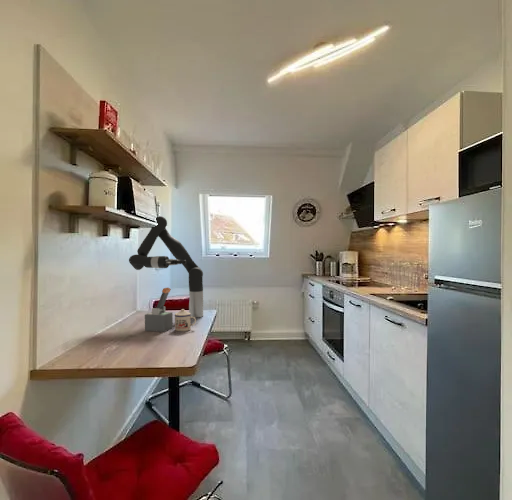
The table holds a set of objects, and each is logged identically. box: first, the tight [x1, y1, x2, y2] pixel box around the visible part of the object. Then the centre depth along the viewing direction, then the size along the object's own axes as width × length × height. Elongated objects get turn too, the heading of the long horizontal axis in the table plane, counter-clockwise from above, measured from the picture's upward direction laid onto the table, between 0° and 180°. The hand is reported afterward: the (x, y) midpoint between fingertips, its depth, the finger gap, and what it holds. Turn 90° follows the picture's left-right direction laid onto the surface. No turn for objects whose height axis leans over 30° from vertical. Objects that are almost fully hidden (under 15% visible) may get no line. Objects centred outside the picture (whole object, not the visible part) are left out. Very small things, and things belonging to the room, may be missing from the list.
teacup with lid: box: [174, 308, 197, 332], centre depth 203 cm, size 12×9×12 cm
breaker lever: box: [156, 287, 171, 312], centre depth 204 cm, size 2×5×15 cm, turn 166°
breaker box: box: [144, 306, 174, 333], centre depth 205 cm, size 12×10×13 cm
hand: (185, 262), depth 218 cm, fingers closed
